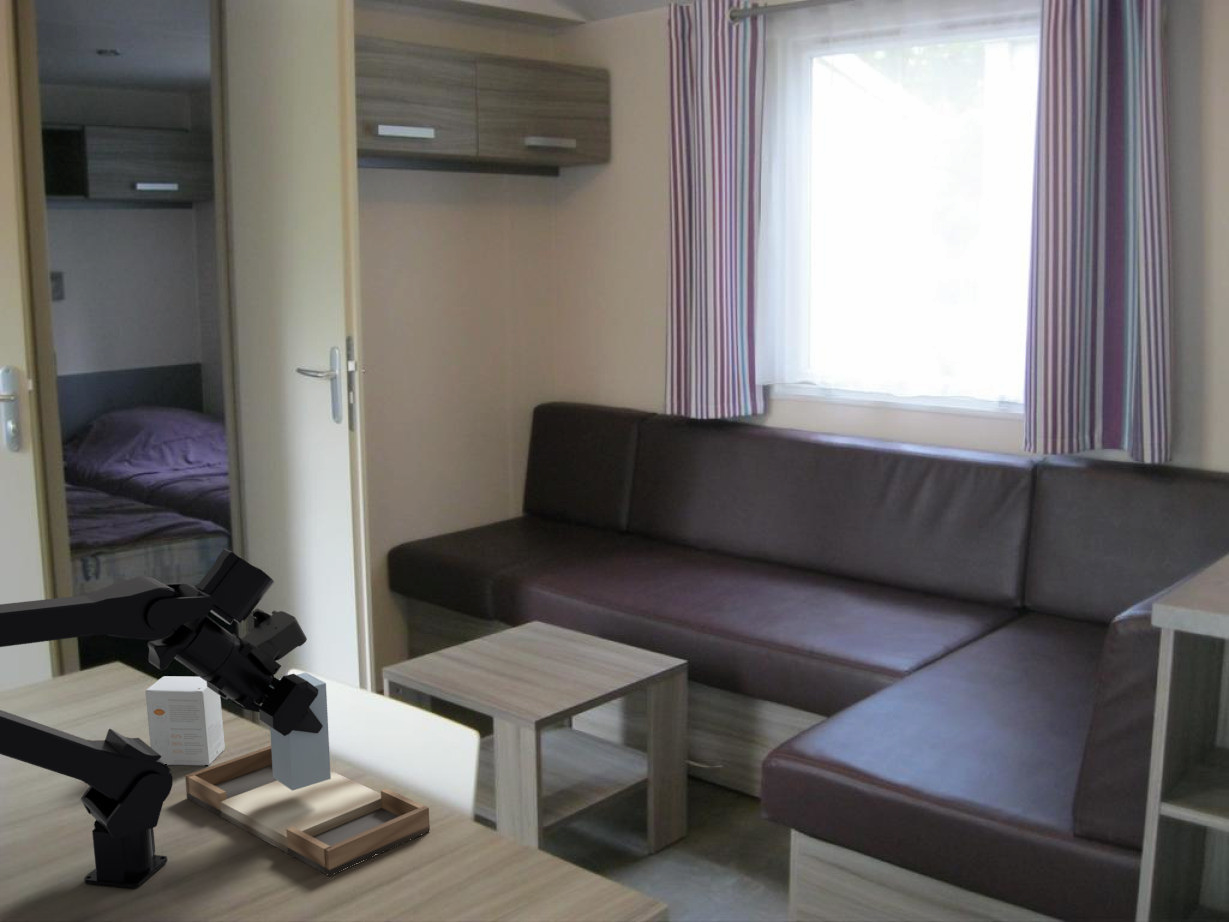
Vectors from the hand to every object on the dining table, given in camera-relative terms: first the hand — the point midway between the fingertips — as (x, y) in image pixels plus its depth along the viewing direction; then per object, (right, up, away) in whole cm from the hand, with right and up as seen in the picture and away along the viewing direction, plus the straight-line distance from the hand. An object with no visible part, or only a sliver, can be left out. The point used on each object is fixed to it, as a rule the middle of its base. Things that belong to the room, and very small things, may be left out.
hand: (309, 723), depth 156 cm
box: (-1, -11, +1) cm, 11 cm away
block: (-1, -7, 0) cm, 7 cm away
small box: (-20, -9, +19) cm, 29 cm away
